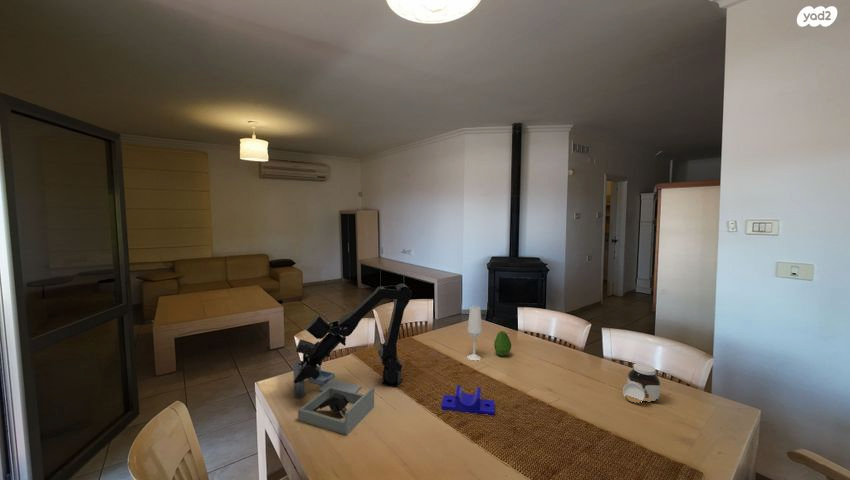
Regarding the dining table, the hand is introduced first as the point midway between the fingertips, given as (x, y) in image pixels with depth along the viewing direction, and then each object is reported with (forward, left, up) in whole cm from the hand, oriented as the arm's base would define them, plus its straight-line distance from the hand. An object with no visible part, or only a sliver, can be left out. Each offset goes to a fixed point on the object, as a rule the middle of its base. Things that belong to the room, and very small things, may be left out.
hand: (294, 379), depth 120 cm
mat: (-12, -10, -7) cm, 17 cm away
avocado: (-65, -66, -7) cm, 93 cm away
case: (-20, +3, -7) cm, 21 cm away
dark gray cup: (-1, -1, -7) cm, 7 cm away
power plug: (-18, +3, -7) cm, 20 cm away
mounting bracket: (-60, -18, -7) cm, 63 cm away
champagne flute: (-53, -58, -7) cm, 79 cm away
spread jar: (-118, -47, -7) cm, 127 cm away
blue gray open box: (-1, -14, -7) cm, 15 cm away
